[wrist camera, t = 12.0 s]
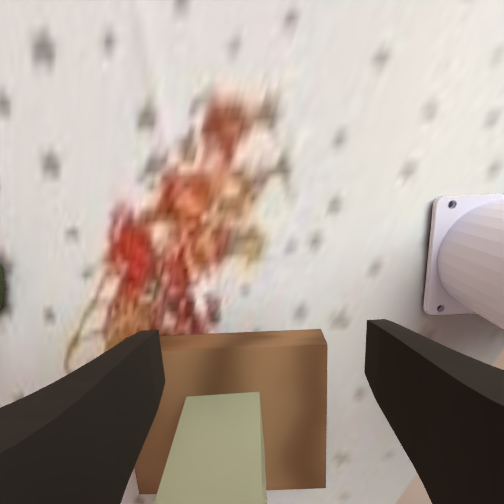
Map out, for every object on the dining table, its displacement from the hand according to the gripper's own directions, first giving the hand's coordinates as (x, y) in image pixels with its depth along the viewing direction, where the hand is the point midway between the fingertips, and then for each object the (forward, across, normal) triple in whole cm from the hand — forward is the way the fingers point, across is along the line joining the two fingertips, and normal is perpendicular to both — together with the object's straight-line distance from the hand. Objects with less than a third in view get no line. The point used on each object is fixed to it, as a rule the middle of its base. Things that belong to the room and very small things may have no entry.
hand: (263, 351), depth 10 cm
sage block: (+8, +3, +11) cm, 14 cm away
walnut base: (+10, +3, +11) cm, 15 cm away
